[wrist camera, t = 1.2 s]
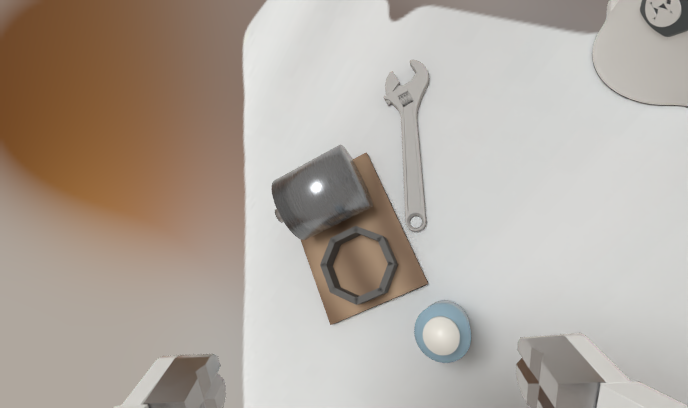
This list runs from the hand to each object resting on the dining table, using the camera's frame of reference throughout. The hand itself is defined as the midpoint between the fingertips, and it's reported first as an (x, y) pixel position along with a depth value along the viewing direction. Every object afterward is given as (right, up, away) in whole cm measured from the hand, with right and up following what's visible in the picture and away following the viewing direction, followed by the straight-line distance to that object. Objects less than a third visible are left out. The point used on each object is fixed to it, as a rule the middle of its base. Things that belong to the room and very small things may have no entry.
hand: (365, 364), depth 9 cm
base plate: (0, 0, +39) cm, 39 cm away
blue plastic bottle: (+12, -10, +32) cm, 36 cm away
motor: (-3, +4, +40) cm, 40 cm away
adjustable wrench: (+8, +13, +40) cm, 42 cm away
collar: (+2, -4, +37) cm, 37 cm away
